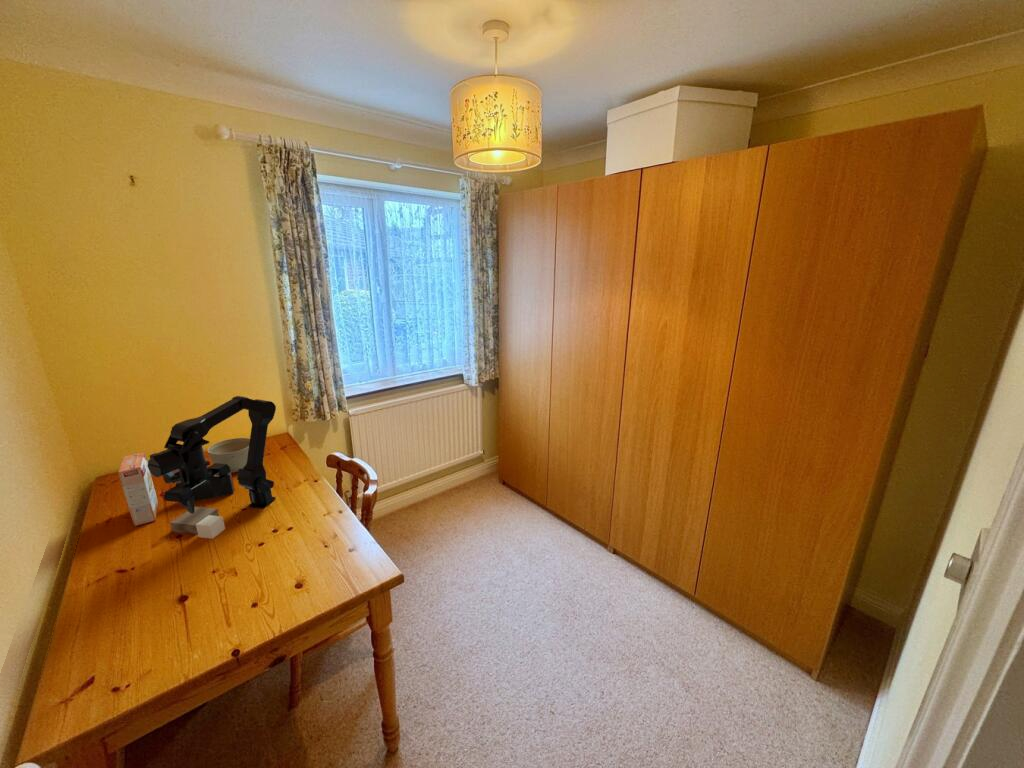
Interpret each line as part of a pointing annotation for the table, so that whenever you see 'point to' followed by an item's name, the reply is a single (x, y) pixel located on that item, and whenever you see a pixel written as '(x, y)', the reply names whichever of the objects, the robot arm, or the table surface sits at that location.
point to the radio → (206, 489)
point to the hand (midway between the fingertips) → (204, 504)
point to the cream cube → (210, 526)
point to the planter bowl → (230, 453)
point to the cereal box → (138, 488)
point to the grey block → (191, 520)
